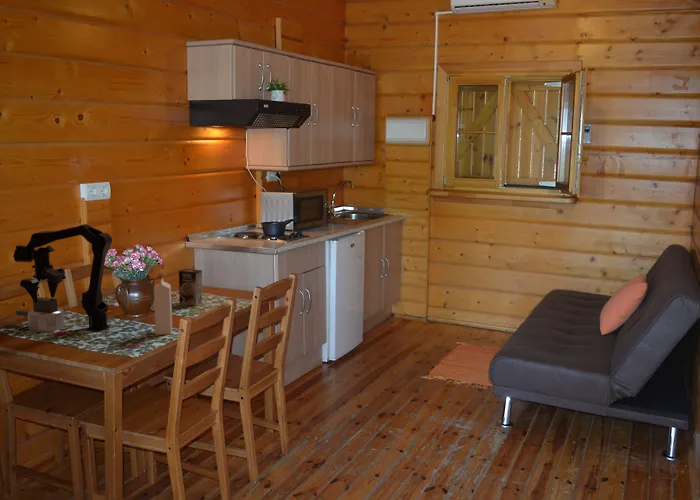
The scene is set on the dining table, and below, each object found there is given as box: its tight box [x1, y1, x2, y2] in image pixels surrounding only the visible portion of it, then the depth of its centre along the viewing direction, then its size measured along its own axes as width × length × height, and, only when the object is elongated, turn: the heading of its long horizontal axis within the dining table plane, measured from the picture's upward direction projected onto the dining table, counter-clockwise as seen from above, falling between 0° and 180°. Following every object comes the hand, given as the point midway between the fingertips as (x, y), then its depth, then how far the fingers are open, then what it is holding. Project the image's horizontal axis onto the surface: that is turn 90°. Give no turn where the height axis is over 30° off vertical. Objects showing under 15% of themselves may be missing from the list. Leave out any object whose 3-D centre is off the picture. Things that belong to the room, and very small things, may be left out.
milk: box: [153, 277, 173, 336], centre depth 270 cm, size 6×6×22 cm
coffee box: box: [178, 268, 203, 307], centre depth 317 cm, size 9×6×16 cm
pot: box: [15, 309, 65, 333], centre depth 278 cm, size 21×13×6 cm, turn 71°
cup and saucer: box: [28, 296, 64, 317], centre depth 276 cm, size 13×13×7 cm
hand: (44, 300), depth 276 cm, fingers open, 9 cm apart
